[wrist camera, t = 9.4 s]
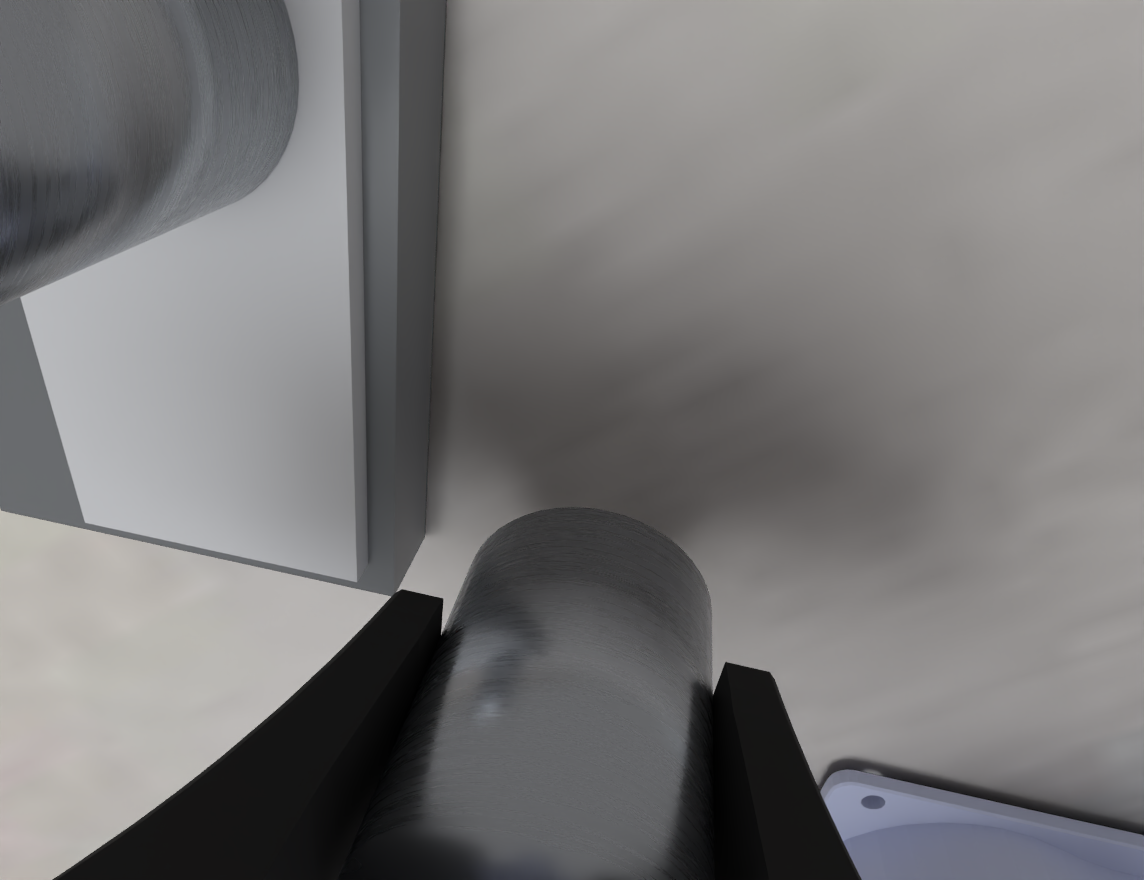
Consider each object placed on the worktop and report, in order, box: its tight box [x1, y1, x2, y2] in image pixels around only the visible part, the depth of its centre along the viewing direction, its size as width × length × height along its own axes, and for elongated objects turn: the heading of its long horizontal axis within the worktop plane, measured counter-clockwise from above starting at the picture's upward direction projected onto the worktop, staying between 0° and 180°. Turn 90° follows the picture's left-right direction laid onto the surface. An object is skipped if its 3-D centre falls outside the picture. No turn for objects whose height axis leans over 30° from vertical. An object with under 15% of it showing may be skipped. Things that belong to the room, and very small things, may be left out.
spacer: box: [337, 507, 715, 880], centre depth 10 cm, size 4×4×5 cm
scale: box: [0, 0, 446, 596], centre depth 11 cm, size 8×12×2 cm, turn 172°
